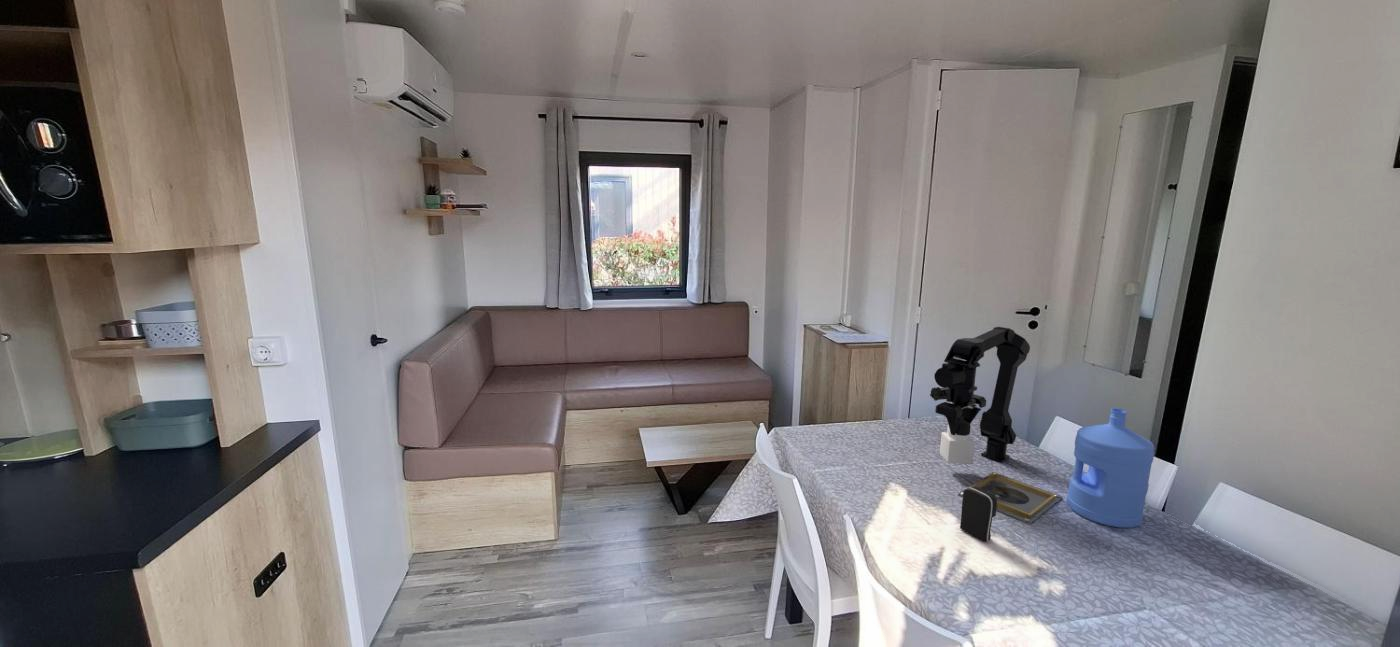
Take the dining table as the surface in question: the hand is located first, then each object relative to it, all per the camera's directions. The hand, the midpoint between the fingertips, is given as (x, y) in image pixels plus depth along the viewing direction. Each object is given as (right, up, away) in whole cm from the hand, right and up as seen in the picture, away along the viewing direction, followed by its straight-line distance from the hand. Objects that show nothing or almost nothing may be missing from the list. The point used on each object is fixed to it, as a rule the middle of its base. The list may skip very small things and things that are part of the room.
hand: (958, 432), depth 151 cm
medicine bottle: (0, -9, +2) cm, 9 cm away
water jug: (+28, -17, -19) cm, 38 cm away
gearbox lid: (+8, -15, -12) cm, 21 cm away
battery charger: (-11, -18, -29) cm, 36 cm away
